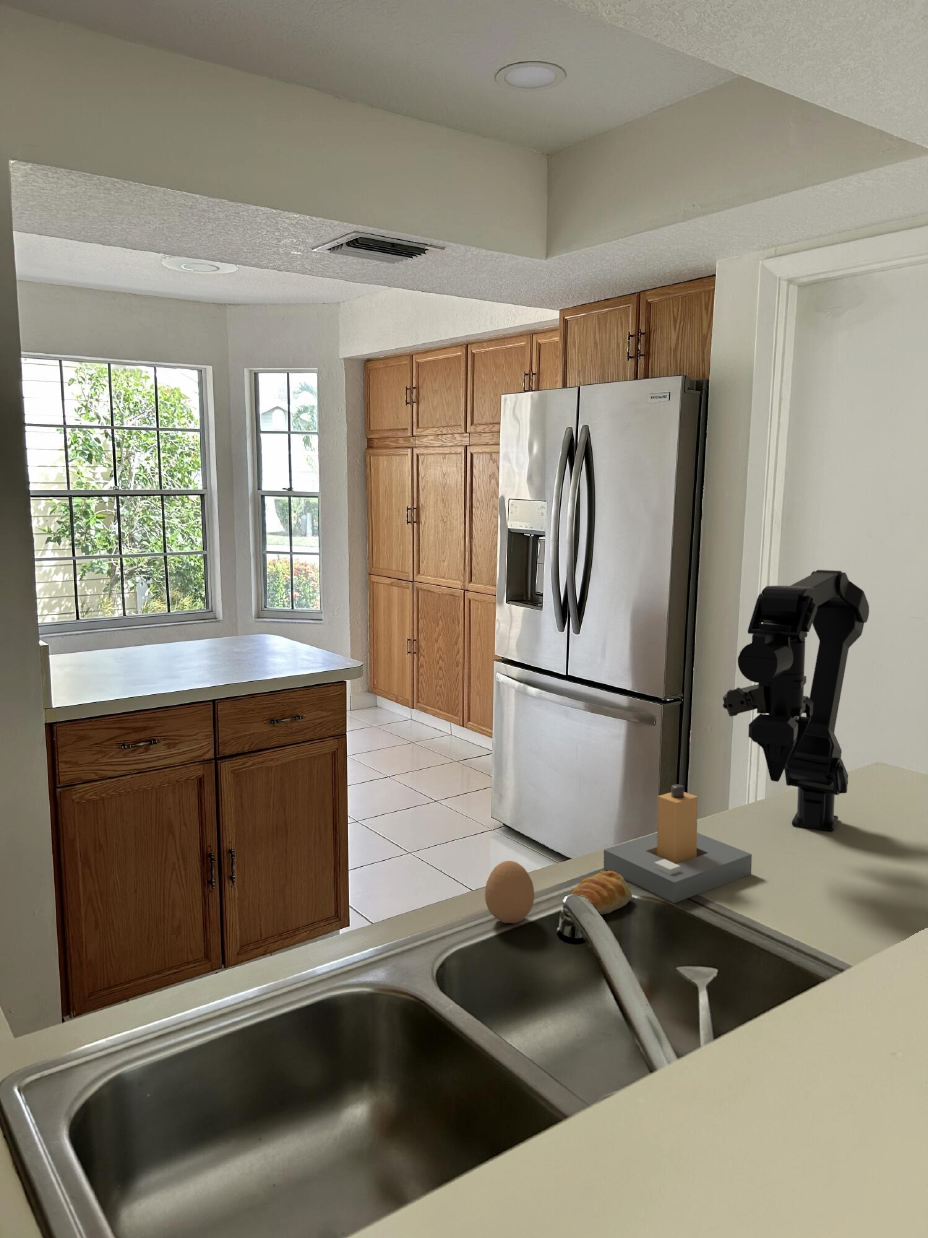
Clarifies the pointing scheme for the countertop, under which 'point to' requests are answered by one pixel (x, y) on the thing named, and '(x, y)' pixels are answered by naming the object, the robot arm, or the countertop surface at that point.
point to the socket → (677, 867)
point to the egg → (509, 892)
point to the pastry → (605, 891)
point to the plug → (677, 825)
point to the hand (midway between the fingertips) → (780, 772)
